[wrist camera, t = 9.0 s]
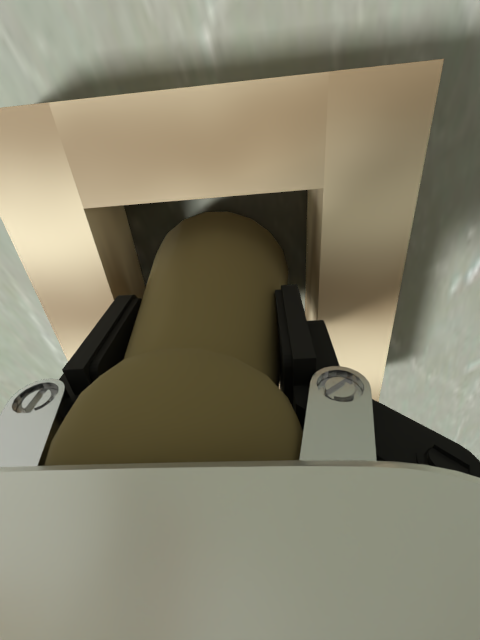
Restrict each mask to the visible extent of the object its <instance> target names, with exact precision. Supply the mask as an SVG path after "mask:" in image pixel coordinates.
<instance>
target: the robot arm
mask: <svg viewBox="0 0 480 640" xmlns="http://www.w3.org/2000/svg"><path fill="white" fill-rule="evenodd" d="M275 300H276V310H277V323H278V336H279V348H280V381H279V383H280V390H281V391H282V392H283V393H284V394H285V395H286V396H287V397H288V399H289V401H290V403H291V405H292V407H293V409H294V411H295V413H296V415H297V417H298V420H299V422H300V425H301V427H302V430H303V438H302V445H301V452H300V459H299V460H283V461H227V462H176V463H132V464H91V465H54V466H44V464H45V461H46V458H47V454H48V451H49V448H50V444H51V441H52V439H53V438H54V436H55V434H56V432H57V431H58V429H59V427H60V425H61V424H62V422H63V420H64V419H65V417H66V415H67V414H68V412H69V411H70V409H71V408H72V406H73V404H74V403H75V401H76V400H77V398H78V397H79V395H80V394H81V392H82V391H84V390H85V389H86V388H87V387H88V386H89V385H90V384H92V383H93V382H94V381H95V380H96V379H97V378H98V377H99V376H101V375H102V374H104V373H105V372H106V371H108V370H109V369H111V368H112V367H114V366H115V365H117V364H118V363H119V362H121V361H122V360H124V356H125V353H126V350H127V347H128V343H129V340H130V337H131V334H132V330H133V327H134V324H135V321H136V317H137V314H138V311H139V308H140V304H141V301H142V299H141V298H137V296H136V295H118V296H117V297H116V299H115V300H114V301H113V303H112V304H111V305H110V307H109V308H108V309H107V311H106V312H105V313H104V315H103V316H102V317H101V319H100V320H99V321H98V323H97V324H96V325H95V327H94V328H93V329H92V331H91V332H90V333H89V335H88V336H87V337H86V339H85V340H84V341H83V343H82V344H81V345H80V347H79V348H78V349H77V351H76V352H75V353H74V355H73V356H72V357H71V359H70V360H69V361H68V363H67V364H66V365H65V367H64V368H63V369H62V370H63V372H64V374H63V375H62V376H61V378H60V379H59V380H58V379H43V380H40V381H36V382H34V383H31V384H29V385H27V386H25V387H24V388H22V389H20V390H19V391H17V392H16V393H15V394H14V395H13V396H12V397H11V398H10V399H9V401H8V402H7V404H6V405H5V407H4V409H3V411H2V413H1V414H0V640H480V461H479V460H478V459H477V458H476V457H475V456H474V455H473V454H472V453H471V452H470V451H468V450H467V449H465V448H464V447H462V446H461V445H459V444H457V443H455V442H453V441H452V440H450V439H448V438H446V437H444V436H442V435H440V434H438V433H436V432H434V431H432V430H431V429H429V428H427V427H425V426H423V425H421V424H419V423H417V422H415V421H413V420H411V419H410V418H408V417H406V416H404V415H402V414H400V413H398V412H396V411H394V410H392V409H390V408H389V407H387V406H385V405H383V404H381V403H379V402H377V401H375V400H373V399H372V393H371V387H370V383H369V381H368V380H367V379H366V378H365V376H363V375H362V374H360V373H359V372H358V371H355V370H353V369H351V368H347V367H342V366H340V365H339V362H338V360H337V357H336V354H335V351H334V348H333V345H332V342H331V339H330V336H329V333H328V330H327V328H326V325H325V322H324V320H312V321H307V320H306V316H305V312H304V309H303V305H302V301H301V297H300V293H299V289H298V285H297V284H292V285H281V289H280V290H275Z"/></svg>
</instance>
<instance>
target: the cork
mask: <svg viewBox="0 0 480 640" xmlns="http://www.w3.org/2000/svg"><path fill="white" fill-rule="evenodd" d="M281 285H288V266H287V263H286V259H285V256H284V253H283V249H282V248H281V247H280V245H279V244H278V242H277V241H276V240H275V238H274V237H273V236H272V234H271V233H270V232H269V231H268V230H267V229H265V228H264V227H262V226H261V225H259V224H258V223H257V222H255V221H254V220H252V219H251V218H248V217H244V216H241V215H238V214H235V213H231V212H204V213H201V214H198V215H196V216H193V217H190V218H187V219H185V220H183V221H182V222H180V223H179V224H178V225H177V226H176V227H174V228H173V229H172V230H171V231H170V232H168V233H167V235H166V236H165V238H164V240H163V242H162V243H161V245H160V247H159V249H158V250H157V253H156V256H155V259H154V262H153V265H152V269H151V272H150V275H149V278H148V282H147V285H146V288H145V291H144V295H143V298H142V301H141V304H140V308H139V311H138V314H137V317H136V321H135V324H134V327H133V330H132V334H131V337H130V340H129V343H128V347H127V350H126V353H125V356H124V360H122V361H121V362H119V363H118V364H117V365H115V366H114V367H112V368H111V369H109V370H108V371H106V372H105V373H104V374H102V375H101V376H99V377H98V378H97V379H96V380H95V381H94V382H93V383H92V384H90V385H89V386H88V387H87V388H86V389H85V390H84V391H82V392H81V394H80V395H79V397H78V398H77V400H76V401H75V403H74V404H73V406H72V408H71V409H70V411H69V412H68V414H67V415H66V417H65V419H64V420H63V422H62V424H61V425H60V427H59V429H58V431H57V432H56V434H55V436H54V438H53V439H52V441H51V444H50V448H49V451H48V454H47V458H46V461H45V464H44V466H54V465H91V464H132V463H176V462H227V461H283V460H299V459H300V452H301V445H302V438H303V430H302V427H301V425H300V422H299V420H298V417H297V415H296V413H295V411H294V409H293V407H292V405H291V403H290V401H289V399H288V397H287V396H286V395H285V394H284V393H283V392H282V391H281V390H280V389H279V381H280V348H279V336H278V323H277V310H276V300H275V290H280V289H281Z"/></svg>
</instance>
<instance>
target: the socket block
mask: <svg viewBox="0 0 480 640" xmlns="http://www.w3.org/2000/svg"><path fill="white" fill-rule="evenodd" d="M443 62H444V59H438V60H429V61H420V62H411V63H402V64H393V65H383V66H374V67H365V68H356V69H347V70H338V71H329V72H320V73H311V74H302V75H293V76H284V77H275V78H266V79H257V80H248V81H239V82H230V83H221V84H211V85H202V86H193V87H184V88H175V89H166V90H157V91H148V92H139V93H130V94H121V95H112V96H103V97H94V98H85V99H76V100H67V101H58V102H49V103H39V104H30V105H21V106H12V107H3V108H0V217H1V219H2V221H3V223H4V225H5V227H6V229H7V232H8V234H9V236H10V238H11V240H12V242H13V244H14V247H15V249H16V251H17V253H18V255H19V257H20V259H21V262H22V264H23V266H24V268H25V270H26V272H27V274H28V276H29V279H30V281H31V283H32V285H33V287H34V289H35V291H36V294H37V296H38V298H39V300H40V302H41V304H42V306H43V309H44V311H45V313H46V315H47V317H48V319H49V321H50V324H51V326H52V328H53V330H54V332H55V334H56V336H57V339H58V341H59V343H60V345H61V347H62V349H63V351H64V354H65V356H66V358H67V360H68V361H69V360H70V359H71V357H72V356H73V355H74V353H75V352H76V351H77V349H78V348H79V347H80V345H81V344H82V343H83V341H84V340H85V339H86V337H87V336H88V335H89V333H90V332H91V331H92V329H93V328H94V327H95V325H96V324H97V323H98V321H99V320H100V319H101V317H102V316H103V315H104V313H105V312H106V311H107V309H108V308H109V307H110V305H111V304H112V303H113V301H114V300H115V299H116V297H117V296H118V295H136V296H137V298H141V299H142V298H143V295H144V291H145V288H146V287H145V283H144V279H143V276H142V272H141V268H140V264H139V261H138V257H137V253H136V249H135V246H134V242H133V238H132V234H131V231H130V227H129V223H128V219H127V216H126V212H125V208H124V205H132V204H144V203H156V202H168V201H180V200H192V199H203V198H215V197H227V196H239V195H251V194H263V193H275V192H287V191H298V190H308V198H307V245H306V292H305V316H306V320H307V321H312V320H324V322H325V325H326V328H327V330H328V333H329V336H330V339H331V342H332V345H333V348H334V351H335V354H336V357H337V360H338V362H339V365H340V366H342V367H347V368H351V369H353V370H355V371H358V372H359V373H360V374H362V375H363V376H365V378H366V379H367V380H368V381H369V383H370V387H371V393H372V399H373V400H375V401H377V402H379V396H380V391H381V386H382V381H383V376H384V370H385V365H386V360H387V355H388V349H389V344H390V339H391V334H392V328H393V323H394V318H395V313H396V308H397V302H398V297H399V292H400V287H401V281H402V276H403V271H404V266H405V261H406V255H407V250H408V245H409V240H410V234H411V229H412V224H413V219H414V213H415V208H416V203H417V198H418V193H419V187H420V182H421V177H422V172H423V166H424V161H425V156H426V151H427V146H428V140H429V135H430V130H431V125H432V119H433V114H434V109H435V104H436V98H437V93H438V88H439V83H440V78H441V72H442V67H443ZM279 389H280V383H279Z"/></svg>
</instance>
